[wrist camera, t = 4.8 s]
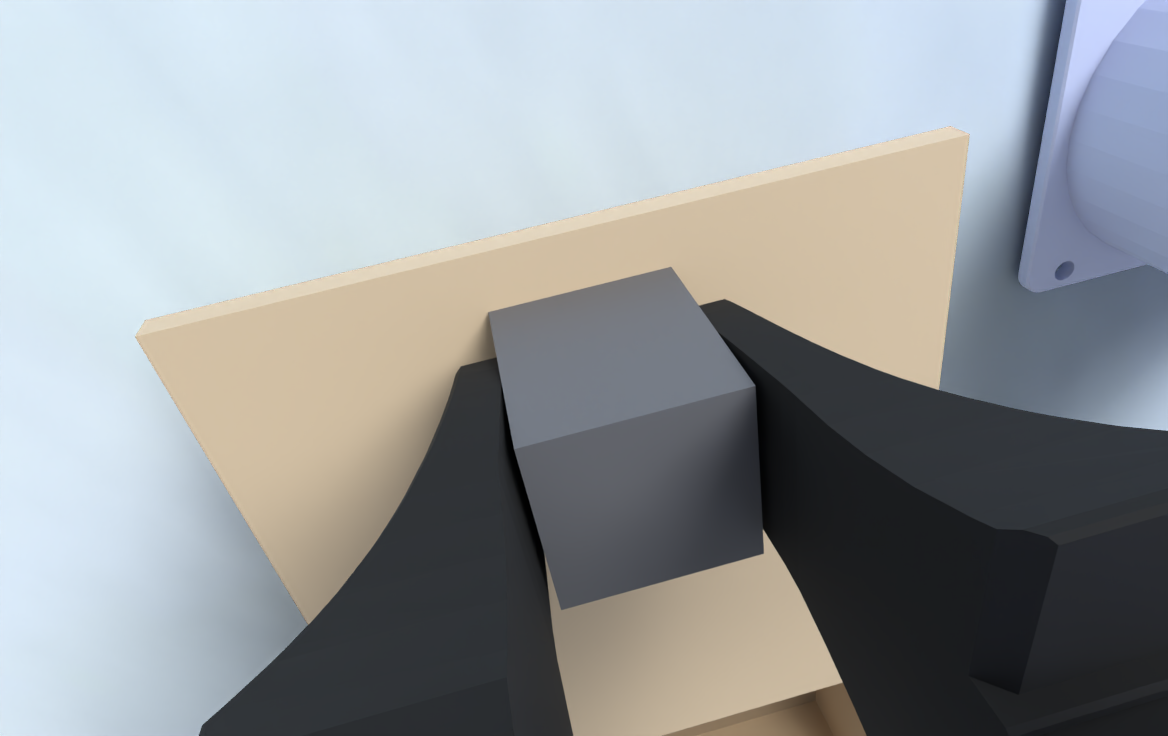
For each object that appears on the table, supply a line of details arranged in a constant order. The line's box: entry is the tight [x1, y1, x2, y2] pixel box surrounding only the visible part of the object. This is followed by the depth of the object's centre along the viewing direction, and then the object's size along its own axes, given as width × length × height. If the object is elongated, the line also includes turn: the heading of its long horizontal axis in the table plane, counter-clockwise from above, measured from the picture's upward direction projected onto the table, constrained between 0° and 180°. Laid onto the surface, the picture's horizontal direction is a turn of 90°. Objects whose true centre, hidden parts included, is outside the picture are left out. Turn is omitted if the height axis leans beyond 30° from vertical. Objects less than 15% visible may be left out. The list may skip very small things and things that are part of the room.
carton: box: [662, 683, 866, 736], centre depth 22 cm, size 13×14×4 cm
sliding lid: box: [135, 126, 970, 736], centre depth 14 cm, size 13×14×4 cm
